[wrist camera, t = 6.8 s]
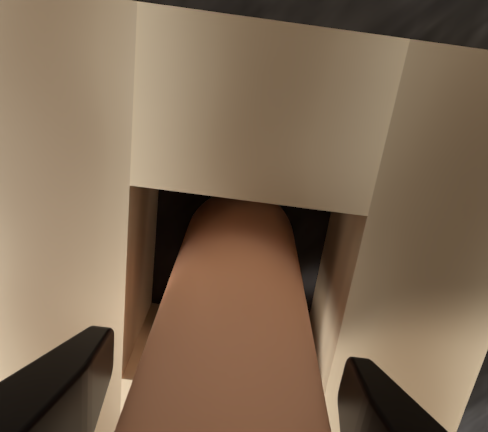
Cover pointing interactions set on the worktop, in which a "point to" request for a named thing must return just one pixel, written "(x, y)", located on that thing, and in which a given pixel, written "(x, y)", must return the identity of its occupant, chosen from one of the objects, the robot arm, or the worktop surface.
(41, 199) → the socket block
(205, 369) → the peg
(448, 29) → the worktop surface
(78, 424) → the robot arm
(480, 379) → the worktop surface
